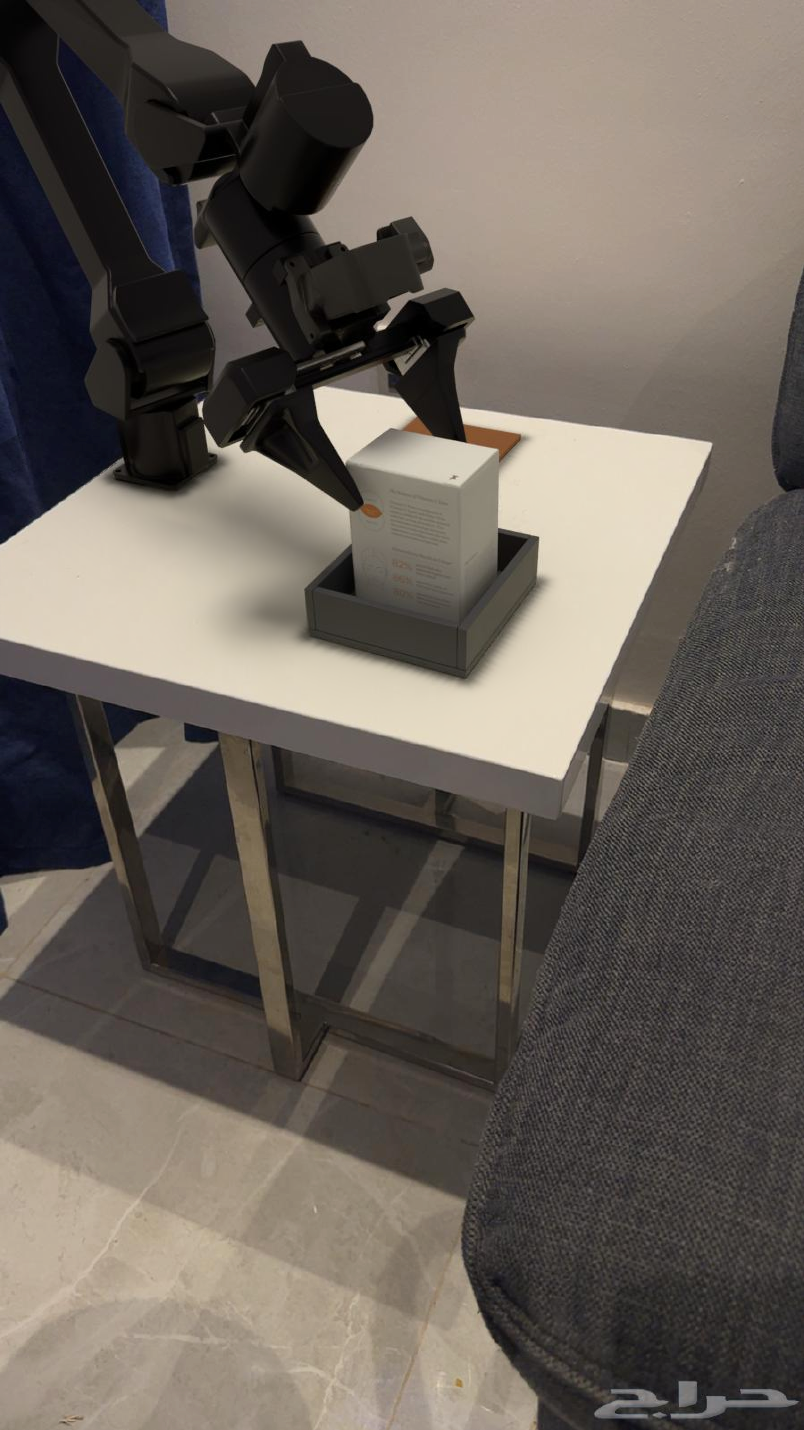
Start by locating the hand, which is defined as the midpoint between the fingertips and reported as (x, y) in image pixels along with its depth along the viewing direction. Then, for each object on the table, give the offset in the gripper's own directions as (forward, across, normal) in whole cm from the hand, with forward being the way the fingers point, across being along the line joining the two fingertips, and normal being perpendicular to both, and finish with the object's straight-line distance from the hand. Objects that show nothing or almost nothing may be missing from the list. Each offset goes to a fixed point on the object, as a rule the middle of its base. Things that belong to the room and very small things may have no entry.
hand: (413, 482), depth 64 cm
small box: (+7, 0, +5) cm, 9 cm away
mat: (-4, +19, +17) cm, 26 cm away
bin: (+7, 0, +6) cm, 9 cm away
